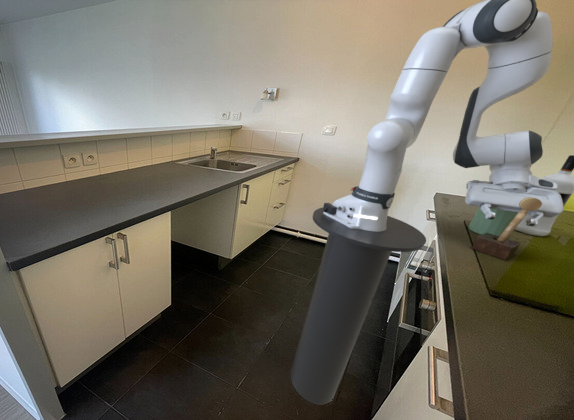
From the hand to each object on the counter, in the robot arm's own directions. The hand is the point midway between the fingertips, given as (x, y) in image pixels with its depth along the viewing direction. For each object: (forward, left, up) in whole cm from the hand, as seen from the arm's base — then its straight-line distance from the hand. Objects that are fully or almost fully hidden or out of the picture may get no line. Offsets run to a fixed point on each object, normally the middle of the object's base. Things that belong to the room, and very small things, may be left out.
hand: (510, 221), depth 75 cm
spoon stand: (0, +1, -11) cm, 11 cm away
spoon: (0, +1, -11) cm, 11 cm away
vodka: (0, +39, -11) cm, 40 cm away
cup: (-7, +21, -11) cm, 24 cm away
